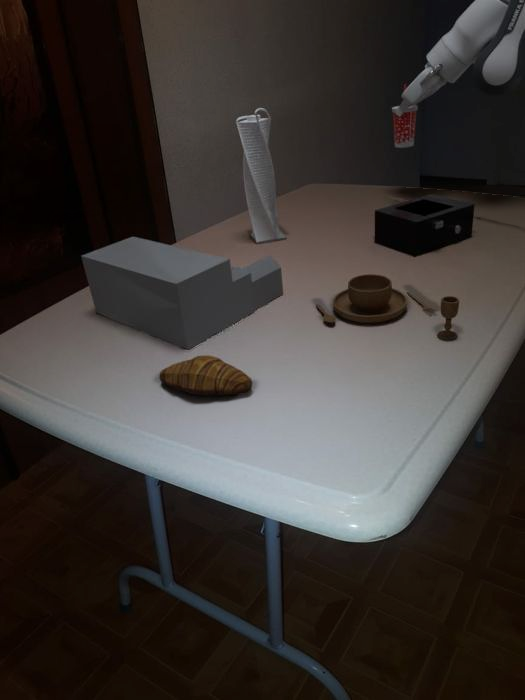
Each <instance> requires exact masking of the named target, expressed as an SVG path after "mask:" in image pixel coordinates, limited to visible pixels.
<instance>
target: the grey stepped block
mask: <svg viewBox="0 0 525 700" xmlns="http://www.w3.org/2000/svg"><path fill="white" fill-rule="evenodd" d="M80 257H81V261H82V265H83V269H84V272H85V276H86V280H87V283H88V284H87V285H88V287H89V291H90V294H91V298H92V302H93V306H94V309H95V313H96V312H97V313H96V314H98V313H99V314H98V315H100V314H102V315H101V316H103V315H104V316H103V317H105V316H106V317H105V318H108V319H111V320H113V321H115V322H118V323H121V324H123V325H125V326H128V327H131V328H133V329H136V330H138V331H140V332H143V333H146V334H148V335H151V336H153V337H156V338H158V339H161V340H163V341H166V342H168V343H171V344H174V345H176V346H178V347H181V348H183V349H186V350H190V349H193V348H194V347H196V346H198V345H199V344H201V343H203V342H204V341H206V340H208V339H209V338H212V337H213V336H215V335H217V334H219V333H220V332H222V331H224V330H226V329H227V328H229V327H230V326H232V325H233V324H236V323H238V322H239V321H241V320H243V319H244V318H246V317H248V316H249V315H251V314H253V313H255V311H256V310H258V309H260V308H262V307H263V306H265V305H267V304H269V303H270V302H272V301H274V300H275V299H277V298H279V297H281V296H282V295H284V286H283V285H284V284H283V274H282V266H281V265H280V264H279V263H278V262H277V261H276V260H275V259H274V258H273V256H272V255H271V254H268V255H266V256H265V257H262V258H260V259H258V260H256V261H254V262H252V263H250V264H248V265H246V266H244V267H238V266H231V258H227V257H223V256H218V255H214V254H210V253H205V252H200V251H197V250H192V249H188V248H184V247H180V246H174V245H171V244H166V243H162V242H159V241H153V240H150V239H145V238H140V237H137V236H131V237H128V238H125V239H123V240H121V241H117V242H114V243H112V244H109V245H106V246H104V247H100V248H98V249H96V250H93V251H90V252H88V253H84V254H82V255H80Z"/></svg>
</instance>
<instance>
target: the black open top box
mask: <svg viewBox="0 0 525 700" xmlns="http://www.w3.org/2000/svg"><path fill="white" fill-rule="evenodd" d="M475 205H476V204H475V203H470V202H466V201H462V200H458V199H453V198H449V197H444V196H440V195H435V194H432V193H431V194H427V195H424V196H420V197H416V198H412V199H409V200H406V201H403V202H399V203H396V204H392V205H389V206H385V207H382V208H378V209H375V210H374V243H375V244H376V245H380V246H383V247H386V248H389V249H392V250H395V251H397V252H400V253H403V254H406V255H409V256H412V257H414V258H415V257H416V258H417V257H418V256H422V255H424V254H427V253H430V252H433V251H436V250H439V249H441V248H445V247H448V246H451V245H454V244H456V243H460V242H462V241H465V240H468V239H470V238H472V237H473V227H474V217H475V216H474V215H475Z"/></svg>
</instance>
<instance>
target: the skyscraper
mask: <svg viewBox="0 0 525 700" xmlns="http://www.w3.org/2000/svg"><path fill="white" fill-rule="evenodd" d="M253 112H254V114H251V115H242V116H239V117H237V118H236V120H235V123H236V127H237V130H238V135H239V138H240V143H241V145H242V150H243V157H242V158H243V159H242V172H243V175H242V176H243V185H244V194H245V198H246V199H245V200H246V205H247V210H248V214H249V215H248V216H249V219H250V223H251V227H252V230H251V233H249V235H250V238H252V240H253V241H254V242H255V244H256V245H260V244H266V243H270V242H271V243H272V242H277V241H282V240H287V236H286V235H285V234H284V233H283V232H282V231H281V230H280V226H279V214H278V209H277V208H278V207H277V193H276V192H277V190H276V189H277V188H276V177H275V169H274V164H273V159H272V154H271V152H270V149H269V141H270V133H271V132H270V130H271V123H272V122H271V121H272V117H271V115H270V113H269V112H268V110H267V109H266V108H263V107H258V108H256V109H255V111H253ZM258 112H264V113H266V115H267V118H266V117H265V118H261V114H258Z"/></svg>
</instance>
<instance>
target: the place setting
mask: <svg viewBox="0 0 525 700" xmlns="http://www.w3.org/2000/svg"><path fill="white" fill-rule="evenodd" d="M406 293H407V295H409V297H411V298H412V299H414V300H415V301H416V302H417V303H419V304H420V305H421V306H422V310H423V311H425V312H428V313H431V312H432V313H434V312H438V309H434V308H432V307H430V306H428V305H426V304H425V303H424V302H423V301H422V300H421V299H419V298H418V297H417V296H415V295H414V294H413V293H412V292H410V291H406ZM407 295H406V294H405V293H403V292H402V291H400V290H398V289H396V288H393V282H392V280H391V278H389V277H387V276H385V275H383V274H382V275H381V274H375V273H373V274H372V273H369V274H361V275H360V274H359V275H357V276H354V277H352V278H350V279H349V280H348V282H347V288H346V289H343V290H342V291H340V292H338V293H337V294H336V295H334V297H333V300H332V306H333V309H334V311H335V312H336V313H337V314H338V315H339V316H341V317H342V318H343V319H346V320H349V321H352V322H356V323H361V324H376V323H377V324H378V323H383V322H387V321H390V320H393V319H396V318H397V317H399V316H400V315H402V313H404V311H405V310H406V309H407V306H408V297H407ZM315 306H316V308H317V309H318V310H319V311H320V312H321V313H322V314H323V317H322V320H323V321H324V322H325V323H327V324H333V323H335V322H336V317H335V316H334V315H331V314H329V313H328V312H326V310H324V308H323V307H322V306H321V305H320V304H318V303H316V304H315ZM459 308H460V299H459V298H458V297H457V296H452V295H447V296H443V297H441V300H440V315H441V316H442V317H443V318H444V319H445V323H444V325H443V327H444V330H441V331H438V332H437V334H436V336H437V338H438V339H439V340H442V341H449V342H451V341H455V340H456V339H458V333H456V332H455V331H454V330H451V329H452V328H453V325H452V321H453V319H454V318H456V317H457V316H458V312H459Z"/></svg>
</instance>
